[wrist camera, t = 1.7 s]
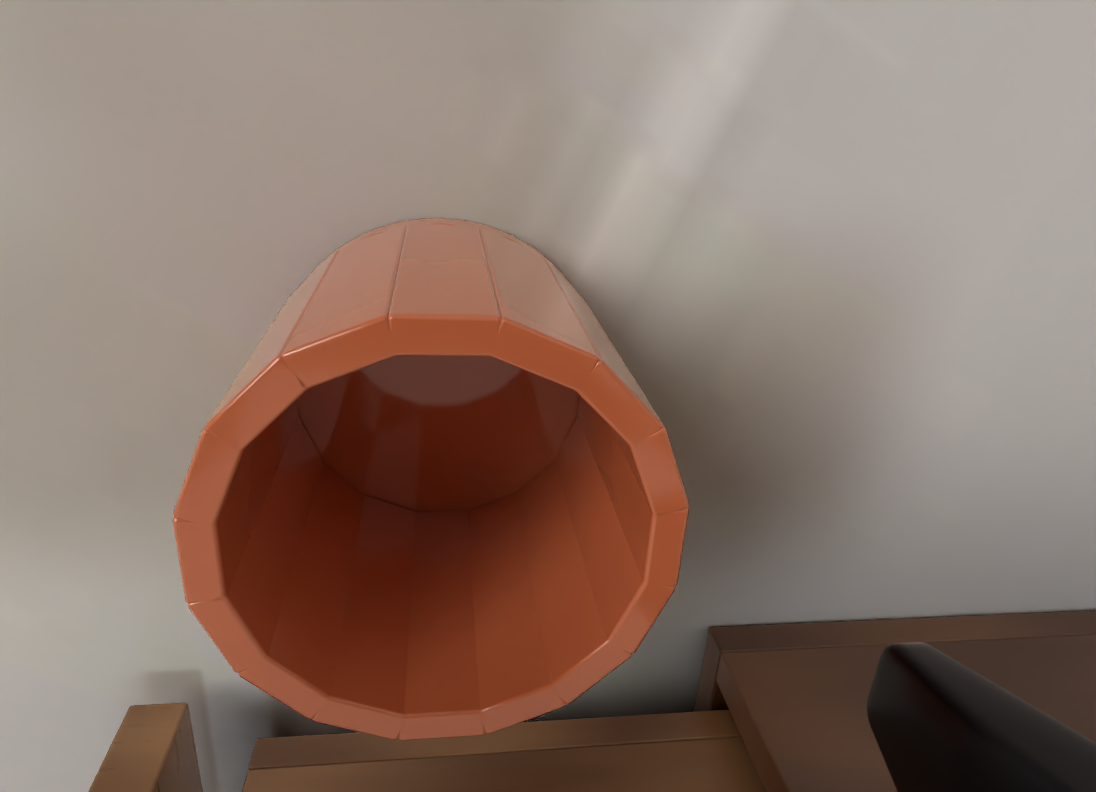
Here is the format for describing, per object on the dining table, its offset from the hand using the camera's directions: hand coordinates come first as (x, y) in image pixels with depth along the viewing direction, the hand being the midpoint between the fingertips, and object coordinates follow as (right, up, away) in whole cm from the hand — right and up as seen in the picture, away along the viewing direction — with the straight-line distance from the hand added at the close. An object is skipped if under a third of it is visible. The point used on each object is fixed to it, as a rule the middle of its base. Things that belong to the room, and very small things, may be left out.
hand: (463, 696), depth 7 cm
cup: (-1, +3, +7) cm, 8 cm away
